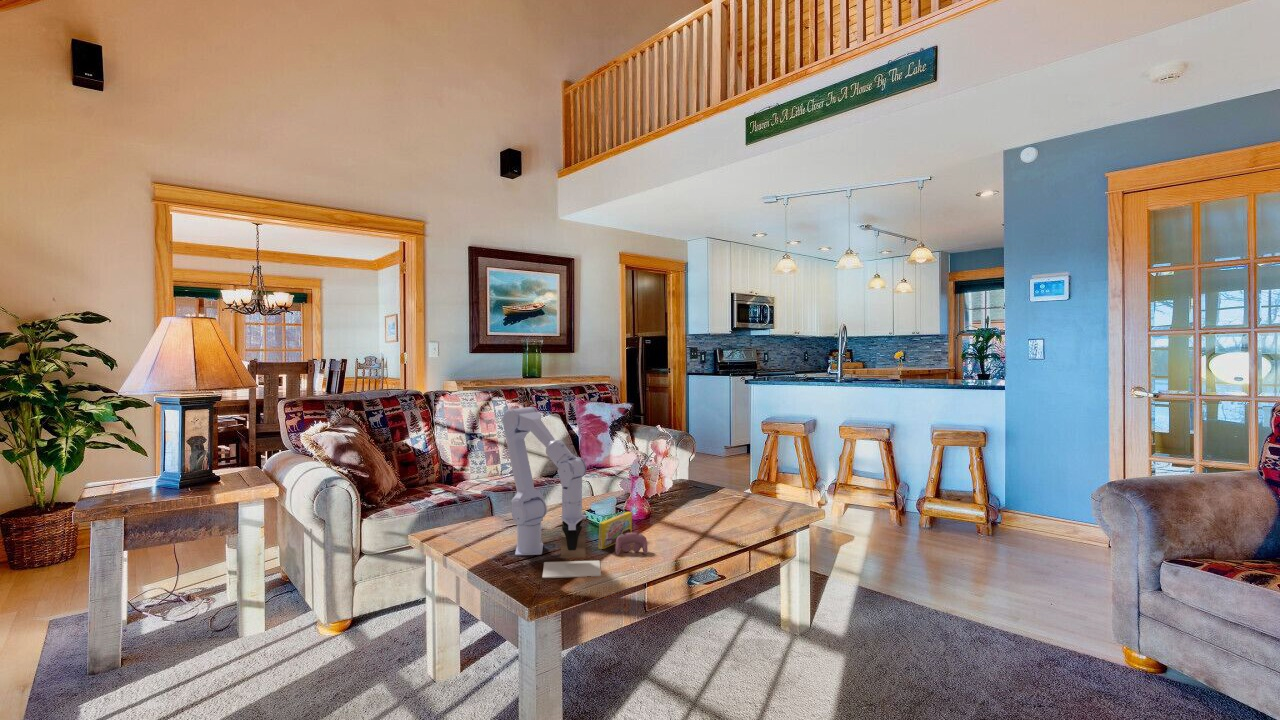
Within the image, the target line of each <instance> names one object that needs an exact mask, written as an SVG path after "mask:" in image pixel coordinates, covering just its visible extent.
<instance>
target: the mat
mask: <svg viewBox="0 0 1280 720" xmlns="http://www.w3.org/2000/svg"><path fill="white" fill-rule="evenodd" d="M587 576H591V577H602V571H601V563H600V560H574V561H573V560H572V561H571V560H568V561H544V562H543V570H542V576H541V577H542V579H556V578H558V579H559V578H562V579H563V578H587Z"/></svg>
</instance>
